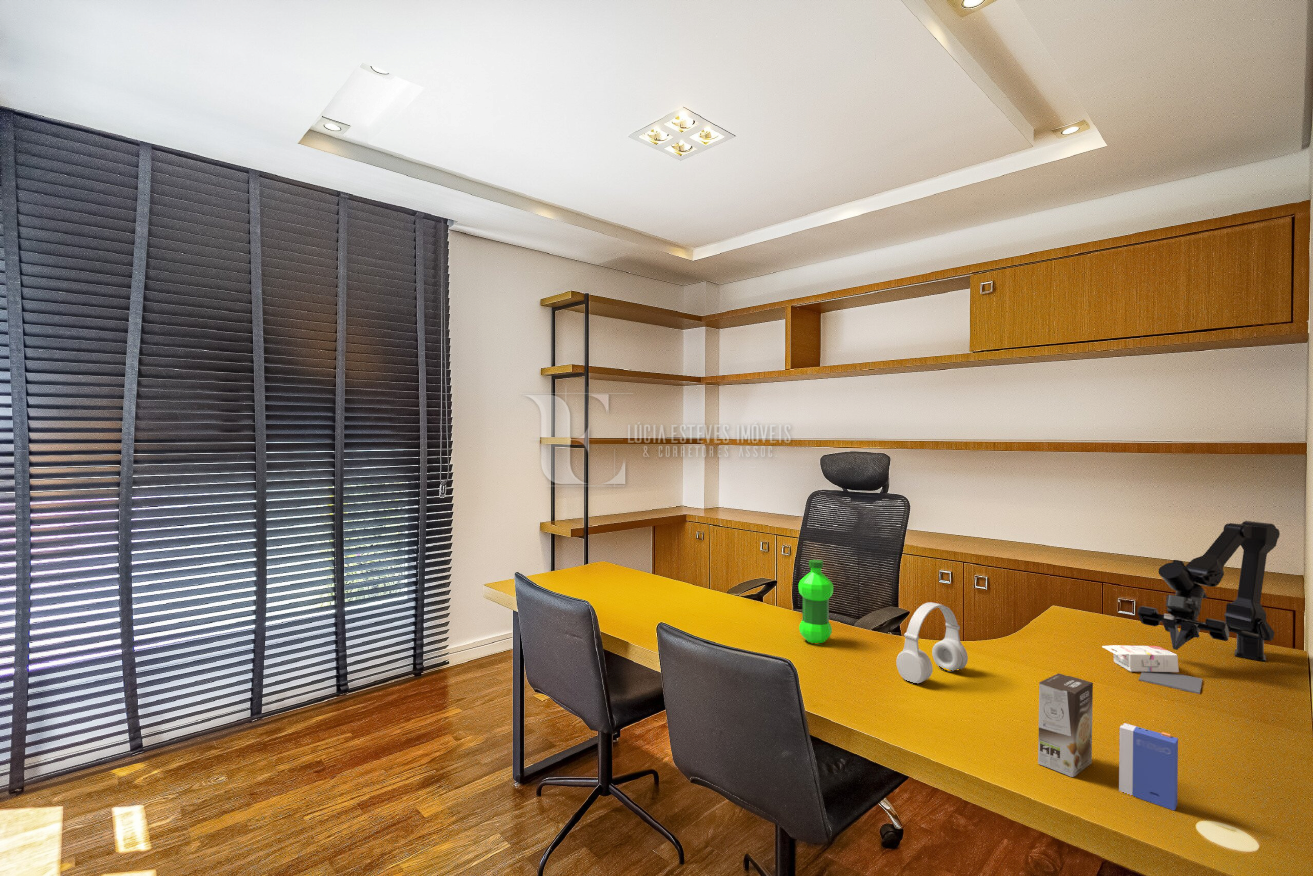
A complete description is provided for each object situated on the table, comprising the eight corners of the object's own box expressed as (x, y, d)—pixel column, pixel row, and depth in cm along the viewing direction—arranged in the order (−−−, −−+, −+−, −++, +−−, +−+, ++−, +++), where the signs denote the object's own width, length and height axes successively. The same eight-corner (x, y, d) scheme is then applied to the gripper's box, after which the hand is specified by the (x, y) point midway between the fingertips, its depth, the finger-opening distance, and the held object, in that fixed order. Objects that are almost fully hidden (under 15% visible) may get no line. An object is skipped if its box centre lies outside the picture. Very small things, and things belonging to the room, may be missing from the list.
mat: (1144, 668, 170) (1144, 666, 170) (1202, 680, 161) (1202, 678, 161) (1138, 680, 161) (1138, 678, 161) (1199, 694, 153) (1199, 692, 153)
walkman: (1177, 804, 107) (1178, 736, 107) (1174, 811, 105) (1175, 741, 105) (1121, 785, 112) (1122, 720, 112) (1118, 791, 111) (1119, 725, 110)
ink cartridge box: (1160, 663, 172) (1101, 662, 175) (1158, 645, 172) (1100, 644, 175) (1179, 673, 164) (1117, 671, 166) (1178, 654, 164) (1116, 653, 167)
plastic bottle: (821, 649, 183) (821, 566, 183) (791, 640, 190) (792, 560, 190) (839, 642, 189) (839, 561, 189) (809, 633, 197) (810, 556, 197)
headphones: (922, 689, 155) (923, 613, 154) (894, 678, 162) (895, 605, 162) (969, 673, 165) (969, 602, 165) (940, 663, 172) (941, 595, 172)
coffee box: (1074, 779, 114) (1075, 693, 114) (1037, 764, 119) (1037, 682, 119) (1092, 763, 120) (1093, 682, 120) (1056, 750, 125) (1057, 671, 125)
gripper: (1139, 577, 175) (1125, 622, 169) (1226, 591, 160) (1214, 641, 154) (1148, 600, 180) (1135, 645, 174) (1234, 616, 165) (1222, 665, 159)
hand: (1174, 648), depth 165 cm, fingers closed
